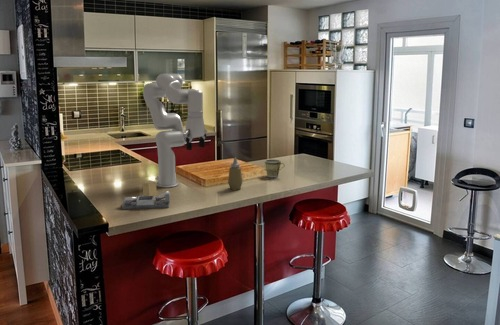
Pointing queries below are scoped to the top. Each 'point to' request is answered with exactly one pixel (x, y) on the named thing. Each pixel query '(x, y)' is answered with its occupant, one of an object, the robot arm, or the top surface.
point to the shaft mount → (147, 201)
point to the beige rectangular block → (149, 188)
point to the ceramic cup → (273, 167)
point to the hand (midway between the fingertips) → (195, 148)
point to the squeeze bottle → (235, 176)
